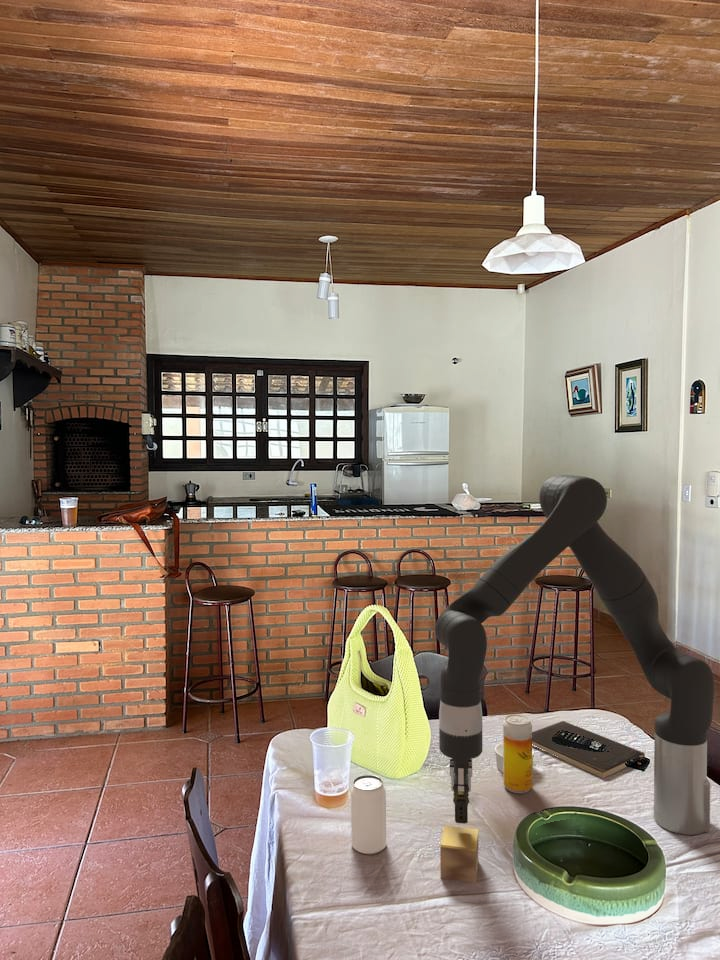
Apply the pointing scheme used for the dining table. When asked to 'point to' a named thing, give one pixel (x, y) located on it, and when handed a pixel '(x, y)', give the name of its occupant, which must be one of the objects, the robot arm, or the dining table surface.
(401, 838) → the dining table surface
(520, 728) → the beer can
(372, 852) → the can
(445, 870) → the cube
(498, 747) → the ramekin
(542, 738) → the hardcover book
